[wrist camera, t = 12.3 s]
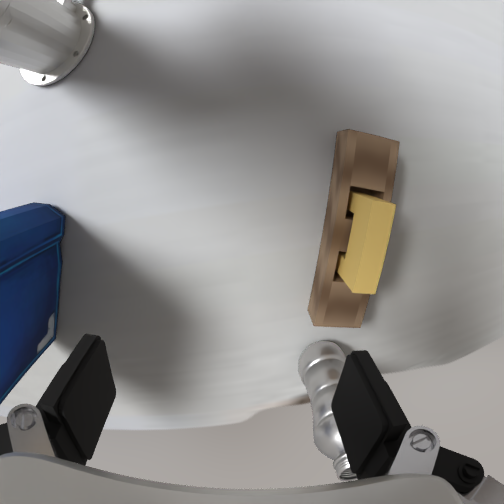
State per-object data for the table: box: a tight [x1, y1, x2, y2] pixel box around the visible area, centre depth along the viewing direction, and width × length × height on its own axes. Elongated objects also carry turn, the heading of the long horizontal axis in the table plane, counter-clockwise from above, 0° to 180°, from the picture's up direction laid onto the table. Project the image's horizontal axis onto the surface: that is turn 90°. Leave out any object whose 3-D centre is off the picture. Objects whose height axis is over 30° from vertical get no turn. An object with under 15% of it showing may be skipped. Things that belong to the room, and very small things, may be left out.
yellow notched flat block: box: [335, 191, 396, 294], centre depth 31 cm, size 9×2×8 cm, turn 173°
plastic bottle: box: [298, 341, 357, 481], centre depth 31 cm, size 6×7×20 cm
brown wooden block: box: [308, 129, 399, 328], centre depth 33 cm, size 22×6×4 cm, turn 174°
